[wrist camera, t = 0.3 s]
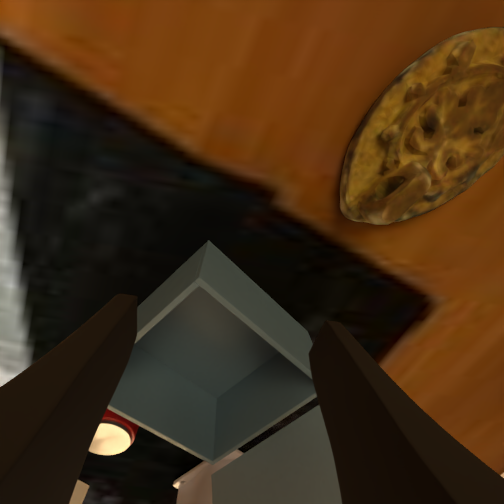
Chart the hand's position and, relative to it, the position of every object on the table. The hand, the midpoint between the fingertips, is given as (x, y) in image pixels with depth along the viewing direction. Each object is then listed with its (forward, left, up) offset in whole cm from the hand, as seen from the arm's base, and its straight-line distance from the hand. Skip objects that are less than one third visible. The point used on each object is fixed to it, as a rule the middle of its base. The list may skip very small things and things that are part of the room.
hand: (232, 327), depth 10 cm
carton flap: (-7, -12, -1) cm, 14 cm away
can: (-18, -4, -10) cm, 21 cm away
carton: (-7, -5, -10) cm, 14 cm away
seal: (+15, -4, -11) cm, 18 cm away
